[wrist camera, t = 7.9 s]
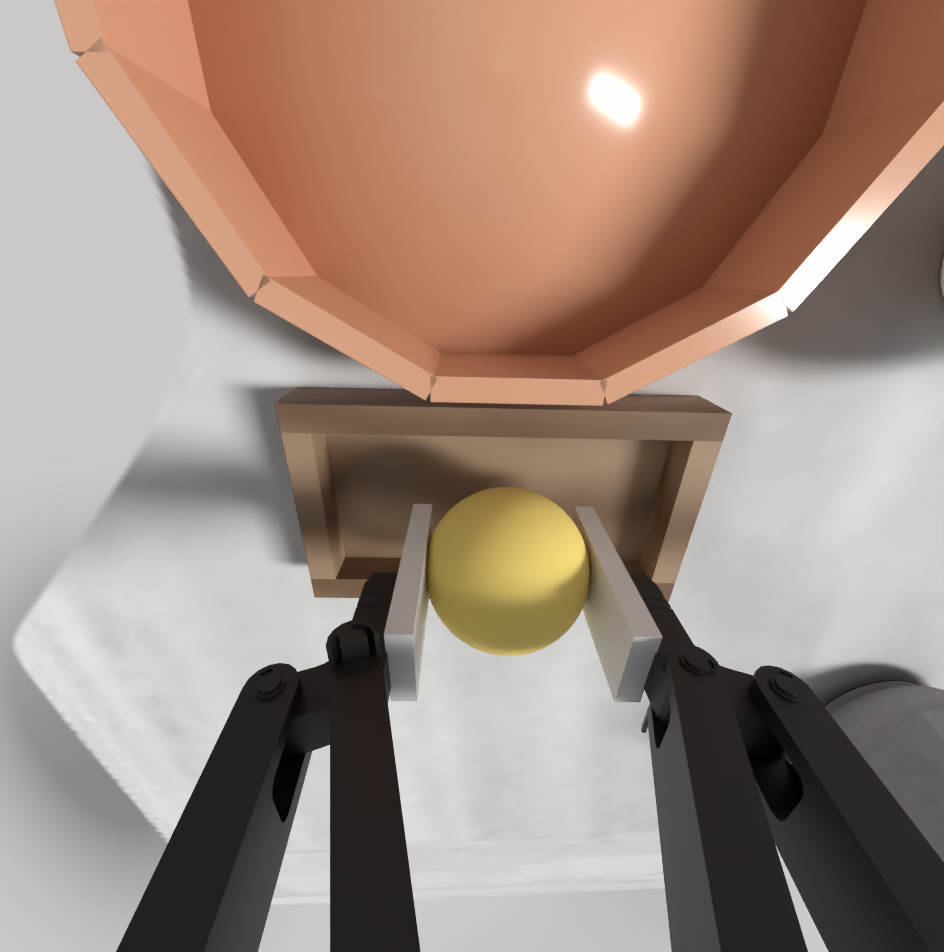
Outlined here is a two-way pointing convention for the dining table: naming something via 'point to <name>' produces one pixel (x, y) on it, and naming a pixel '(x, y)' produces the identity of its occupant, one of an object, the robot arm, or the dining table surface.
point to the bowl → (525, 167)
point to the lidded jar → (942, 277)
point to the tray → (491, 471)
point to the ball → (507, 571)
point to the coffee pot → (901, 746)
